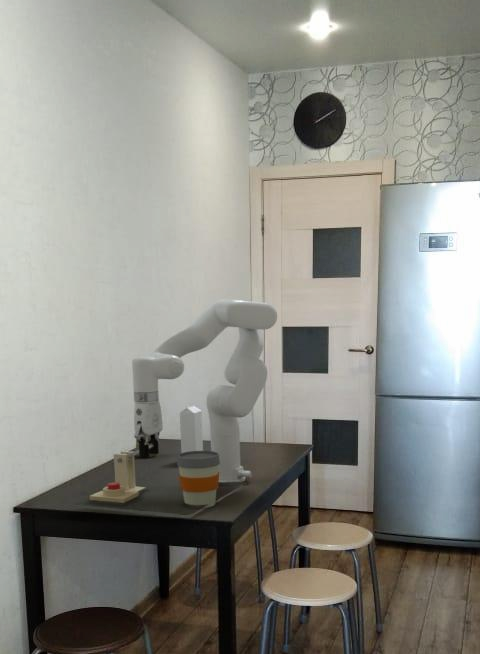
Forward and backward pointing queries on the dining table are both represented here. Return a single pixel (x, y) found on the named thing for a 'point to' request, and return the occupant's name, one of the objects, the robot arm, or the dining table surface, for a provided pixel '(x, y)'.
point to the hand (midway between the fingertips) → (149, 454)
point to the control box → (114, 495)
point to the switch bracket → (125, 471)
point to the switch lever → (138, 451)
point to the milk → (191, 429)
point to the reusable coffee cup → (199, 477)
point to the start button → (113, 486)
